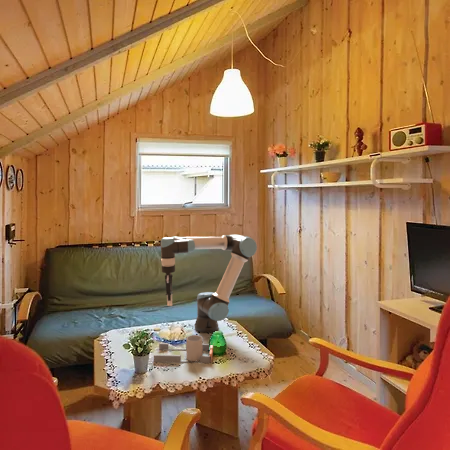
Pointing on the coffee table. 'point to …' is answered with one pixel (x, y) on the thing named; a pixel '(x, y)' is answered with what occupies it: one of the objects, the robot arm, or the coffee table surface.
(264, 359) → the coffee table surface
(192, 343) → the mug
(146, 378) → the coffee table surface
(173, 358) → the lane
